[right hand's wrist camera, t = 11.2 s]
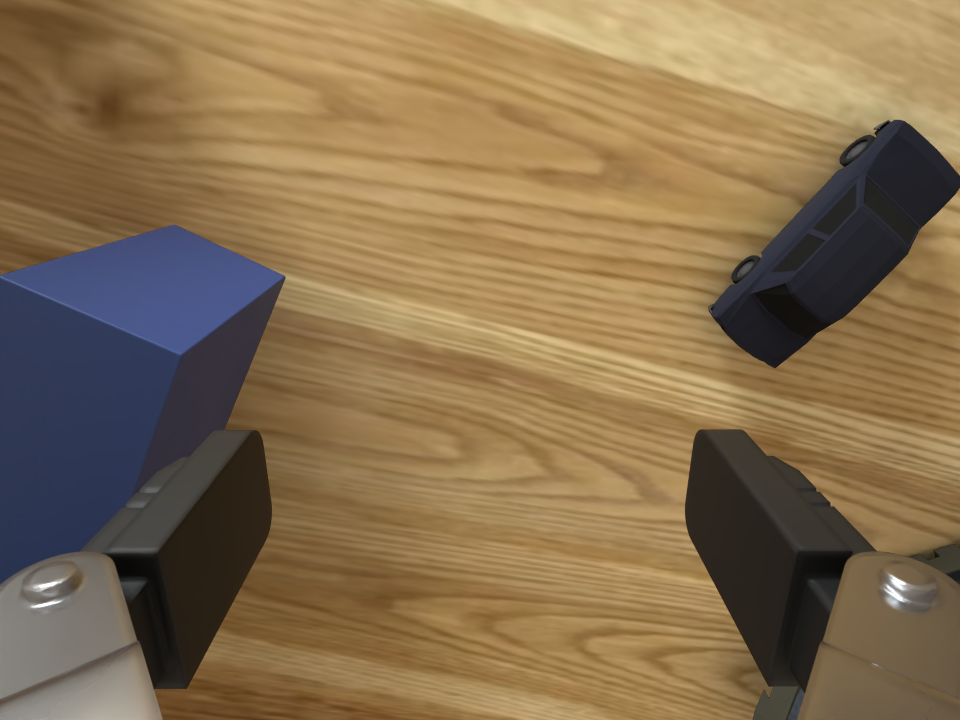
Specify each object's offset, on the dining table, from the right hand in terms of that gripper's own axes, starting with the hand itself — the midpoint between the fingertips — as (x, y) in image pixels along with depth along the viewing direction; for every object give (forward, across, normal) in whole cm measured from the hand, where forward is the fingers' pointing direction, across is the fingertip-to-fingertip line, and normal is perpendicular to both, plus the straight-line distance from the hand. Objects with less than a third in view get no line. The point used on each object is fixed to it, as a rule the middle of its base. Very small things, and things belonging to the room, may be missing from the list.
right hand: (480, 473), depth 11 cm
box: (+22, -19, -12) cm, 32 cm away
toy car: (+28, +20, 0) cm, 35 cm away
